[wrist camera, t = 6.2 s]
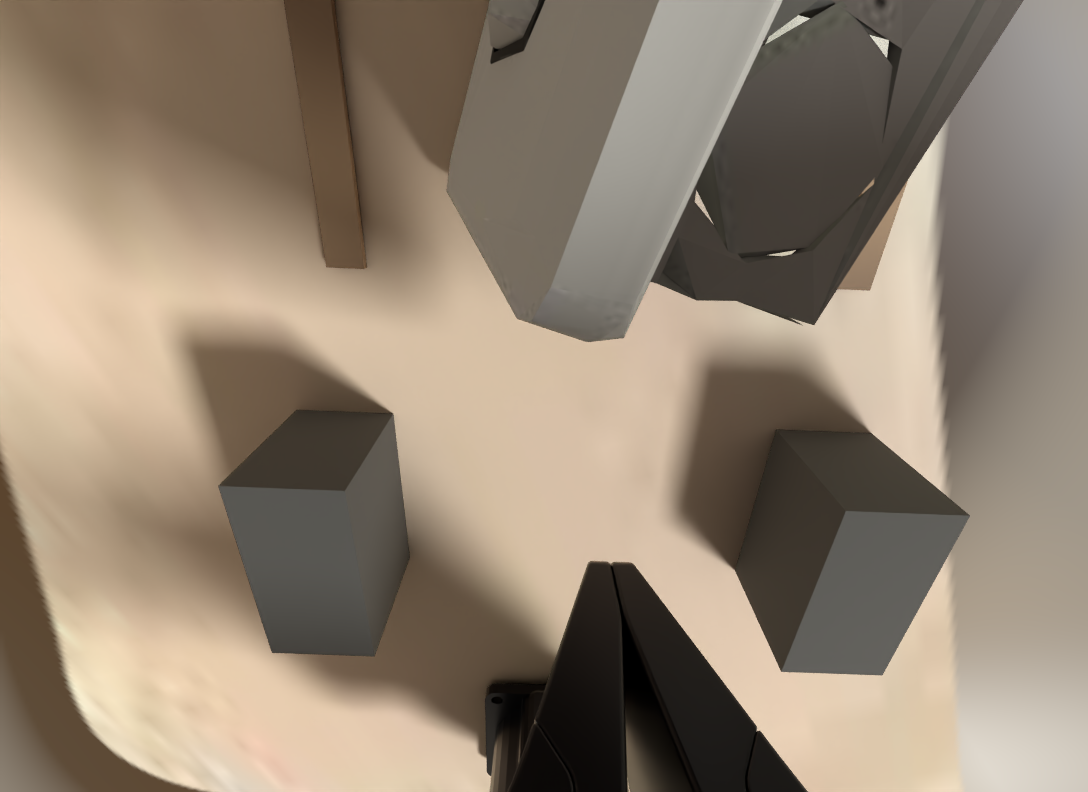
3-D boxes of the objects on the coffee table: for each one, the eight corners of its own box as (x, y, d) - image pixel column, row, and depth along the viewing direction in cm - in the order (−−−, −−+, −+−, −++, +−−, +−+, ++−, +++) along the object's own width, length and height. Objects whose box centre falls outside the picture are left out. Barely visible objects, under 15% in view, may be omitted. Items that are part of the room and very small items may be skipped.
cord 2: (410, 555, 18) (374, 656, 14) (329, 552, 17) (271, 652, 14) (394, 411, 15) (344, 490, 11) (298, 408, 15) (218, 486, 11)
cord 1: (814, 571, 18) (882, 675, 14) (734, 568, 18) (781, 671, 14) (868, 431, 15) (970, 515, 11) (774, 427, 15) (846, 511, 11)
